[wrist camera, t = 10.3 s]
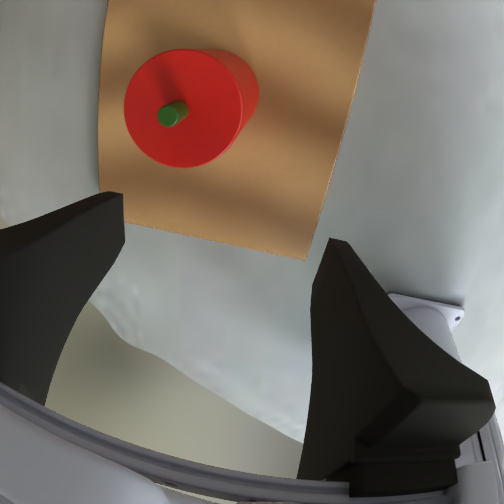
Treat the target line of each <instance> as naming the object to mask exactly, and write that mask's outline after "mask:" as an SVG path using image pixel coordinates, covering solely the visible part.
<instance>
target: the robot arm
mask: <svg viewBox="0 0 504 504" xmlns="http://www.w3.org/2000/svg"><path fill="white" fill-rule="evenodd" d="M124 243H125V231H124V206H123V193H117V192H112V191H106V192H102V193H99V194H96V195H93V196H90V197H88V198H85V199H83V200H80V201H78V202H75V203H73V204H70V205H68V206H66V207H63V208H61V209H58V210H56V211H53V212H50V213H48V214H45V215H43V216H40V217H38V218H35V219H32V220H30V221H27V222H24V223H21V224H18V225H14V226H11V227H8V228H5V229H0V504H219V503H215V502H211V501H207V500H204V499H200V498H196V497H193V496H190V495H187V494H183V493H180V492H177V491H174V490H171V489H168V488H165V487H161V486H158V485H157V484H155V483H158V484H161V485H165V486H169V487H172V488H176V489H180V490H183V491H187V492H191V493H196V494H200V495H204V496H209V497H214V498H219V499H224V500H230V501H235V502H238V503H237V504H504V444H503V440H502V436H501V432H500V429H499V425H498V422H497V418H496V415H495V409H496V407H495V403H494V399H493V396H492V393H491V389H490V386H489V383H488V380H486V379H485V378H483V377H482V376H480V375H479V374H477V373H476V372H474V371H473V370H471V369H469V368H468V367H466V366H465V365H463V364H462V363H461V360H460V357H459V354H458V351H457V348H456V345H455V342H454V339H453V337H452V334H451V332H452V331H453V330H454V328H455V327H456V326H457V324H458V323H459V322H460V320H461V319H462V317H463V316H464V315H465V310H464V308H463V307H459V306H454V305H449V304H444V303H439V302H434V301H429V300H424V299H419V298H414V297H409V296H404V295H399V294H394V293H391V294H388V295H387V294H386V292H385V291H384V290H383V289H382V287H381V286H380V285H379V284H378V282H377V281H376V280H375V278H374V277H373V276H372V274H371V273H370V272H369V270H368V269H367V268H366V266H365V265H364V264H363V262H362V261H361V259H360V258H359V257H358V255H357V254H356V253H355V251H354V250H353V249H352V247H351V246H350V245H349V244H348V242H346V241H342V240H338V239H334V238H329V241H328V243H327V246H326V249H325V252H324V255H323V257H322V260H321V263H320V265H319V268H318V271H317V274H316V276H315V279H314V282H313V284H312V295H311V307H310V314H311V338H312V383H311V394H310V403H309V411H308V418H307V426H306V432H305V438H304V444H303V450H302V455H301V461H300V465H299V469H298V474H297V478H296V479H290V478H281V477H273V476H265V475H258V474H252V473H245V472H240V471H234V470H229V469H224V468H219V467H214V466H210V465H205V464H201V463H197V462H193V461H188V460H185V459H181V458H177V457H174V456H170V455H166V454H163V453H160V452H156V451H153V450H150V449H146V448H143V447H140V446H137V445H134V444H132V443H128V442H126V441H123V440H120V439H118V438H115V437H112V436H109V435H107V434H104V433H102V432H99V431H97V430H94V429H92V428H90V427H87V426H85V425H82V424H80V423H78V422H76V421H73V420H71V419H69V418H67V417H65V416H63V415H60V414H58V413H56V412H54V411H52V410H50V409H48V408H46V407H44V406H45V402H46V398H47V394H48V390H49V387H50V383H51V380H52V377H53V374H54V371H55V368H56V365H57V362H58V359H59V357H60V354H61V352H62V350H63V347H64V345H65V342H66V340H67V338H68V336H69V333H70V331H71V329H72V327H73V325H74V323H75V321H76V319H77V317H78V315H79V313H80V312H81V310H82V308H83V307H84V305H85V304H86V302H87V301H88V300H89V298H90V297H91V295H92V294H93V292H94V291H95V289H96V288H97V287H98V285H99V284H100V282H101V281H102V280H103V278H104V277H105V275H106V274H107V272H108V271H109V270H110V268H111V267H112V265H113V264H114V262H115V260H116V258H117V257H118V255H119V253H120V251H121V249H122V247H123V245H124ZM154 482H155V483H154Z"/></svg>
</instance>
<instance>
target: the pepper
mask: <svg viewBox="0 0 504 504" xmlns="http://www.w3.org/2000/svg"><path fill="white" fill-rule="evenodd" d="M258 98H259V88H258V83H257V79H256V77H255V75H254V73H253V71H252V69H251V68H250V67H249V65H248V64H247V63H246V62H245V61H243V60H242V59H241V58H240V57H238V56H236V55H234V54H232V53H230V52H227V51H222V50H212V49H173V50H169V51H165V52H162V53H160V54H157V55H155V56H154V57H152V58H150V59H149V60H148V61H146V62H145V63H144V64H143V65H142V66H141V67H140V68H139V69H138V70H137V71H136V73H135V74H134V75H133V77H132V79H131V81H130V82H129V85H128V87H127V90H126V94H125V98H124V118H125V123H126V127H127V129H128V132H129V134H130V136H131V138H132V140H133V141H134V142H135V144H136V145H137V146H138V148H139V149H140V150H141V151H142V152H143V153H144V154H146V155H147V156H148V157H150V158H151V159H153V160H154V161H156V162H158V163H160V164H163V165H166V166H170V167H174V168H194V167H199V166H203V165H205V164H208V163H210V162H212V161H214V160H215V159H217V158H219V157H220V156H221V155H222V154H224V153H225V152H226V151H227V150H228V149H229V147H230V146H231V145H232V143H233V142H234V141H235V139H236V138H237V137H238V135H239V134H240V132H241V131H242V130H243V128H244V127H245V125H246V124H247V123H248V121H249V120H250V118H251V117H252V115H253V114H254V112H255V110H256V107H257V104H258Z"/></svg>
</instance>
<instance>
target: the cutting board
mask: <svg viewBox="0 0 504 504" xmlns="http://www.w3.org/2000/svg"><path fill="white" fill-rule="evenodd" d="M375 3H376V0H108V6H107V13H106V20H105V28H104V36H103V45H102V55H101V67H100V82H99V103H98V167H99V190H100V193H102V192H106V191H112V192H117V193H123V206H124V222H128V223H133V224H137V225H142V226H147V227H151V228H156V229H161V230H165V231H170V232H175V233H179V234H184V235H189V236H193V237H198V238H203V239H207V240H212V241H216V242H221V243H226V244H230V245H235V246H240V247H244V248H249V249H254V250H258V251H263V252H267V253H272V254H277V255H281V256H286V257H290V258H295V259H300V260H306V257H307V254H308V251H309V248H310V245H311V242H312V239H313V236H314V232H315V229H316V226H317V223H318V220H319V217H320V213H321V210H322V207H323V204H324V200H325V197H326V194H327V190H328V187H329V184H330V180H331V177H332V174H333V170H334V167H335V163H336V160H337V156H338V153H339V149H340V146H341V142H342V138H343V135H344V131H345V128H346V124H347V120H348V116H349V113H350V109H351V105H352V101H353V97H354V93H355V89H356V86H357V82H358V78H359V73H360V69H361V65H362V61H363V57H364V53H365V48H366V44H367V40H368V35H369V31H370V26H371V22H372V17H373V12H374V8H375ZM173 49H212V50H222V51H227V52H230V53H232V54H234V55H236V56H238V57H240V58H241V59H242V60H243V61H245V62H246V63H247V64H248V65H249V67H250V68H251V69H252V71H253V73H254V75H255V77H256V79H257V83H258V88H259V98H258V104H257V107H256V110H255V112H254V114H253V115H252V117H251V118H250V120H249V121H248V123H247V124H246V125H245V127H244V128H243V130H242V131H241V132H240V134H239V135H238V137H237V138H236V139H235V141H234V142H233V143H232V145H231V146H230V147H229V149H228V150H227V151H226V152H225V153H224V154H222V155H221V156H220V157H219V158H217V159H215V160H214V161H212V162H210V163H208V164H205V165H203V166H199V167H194V168H174V167H170V166H166V165H163V164H160V163H158V162H156V161H154V160H153V159H151V158H150V157H148V156H147V155H146V154H144V153H143V152H142V151H141V150H140V149H139V148H138V146H137V145H136V144H135V142H134V141H133V140H132V138H131V136H130V134H129V132H128V129H127V127H126V123H125V118H124V98H125V94H126V90H127V87H128V85H129V82H130V81H131V79H132V77H133V75H134V74H135V73H136V71H137V70H138V69H139V68H140V67H141V66H142V65H143V64H144V63H145V62H146V61H148V60H149V59H150V58H152V57H154V56H155V55H157V54H160V53H162V52H165V51H169V50H173Z"/></svg>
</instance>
